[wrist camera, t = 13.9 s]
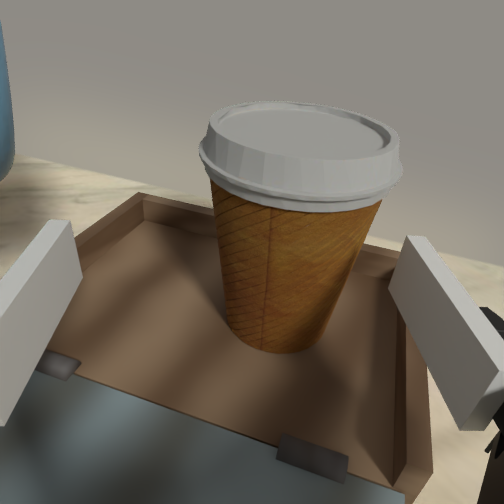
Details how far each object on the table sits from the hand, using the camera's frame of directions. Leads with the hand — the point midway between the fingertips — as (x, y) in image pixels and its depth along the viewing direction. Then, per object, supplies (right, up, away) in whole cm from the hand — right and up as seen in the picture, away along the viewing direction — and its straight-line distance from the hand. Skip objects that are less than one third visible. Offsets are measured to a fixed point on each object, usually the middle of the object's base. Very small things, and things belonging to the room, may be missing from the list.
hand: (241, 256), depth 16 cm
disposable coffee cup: (+2, -4, +9) cm, 10 cm away
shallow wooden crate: (-2, -7, +8) cm, 11 cm away
